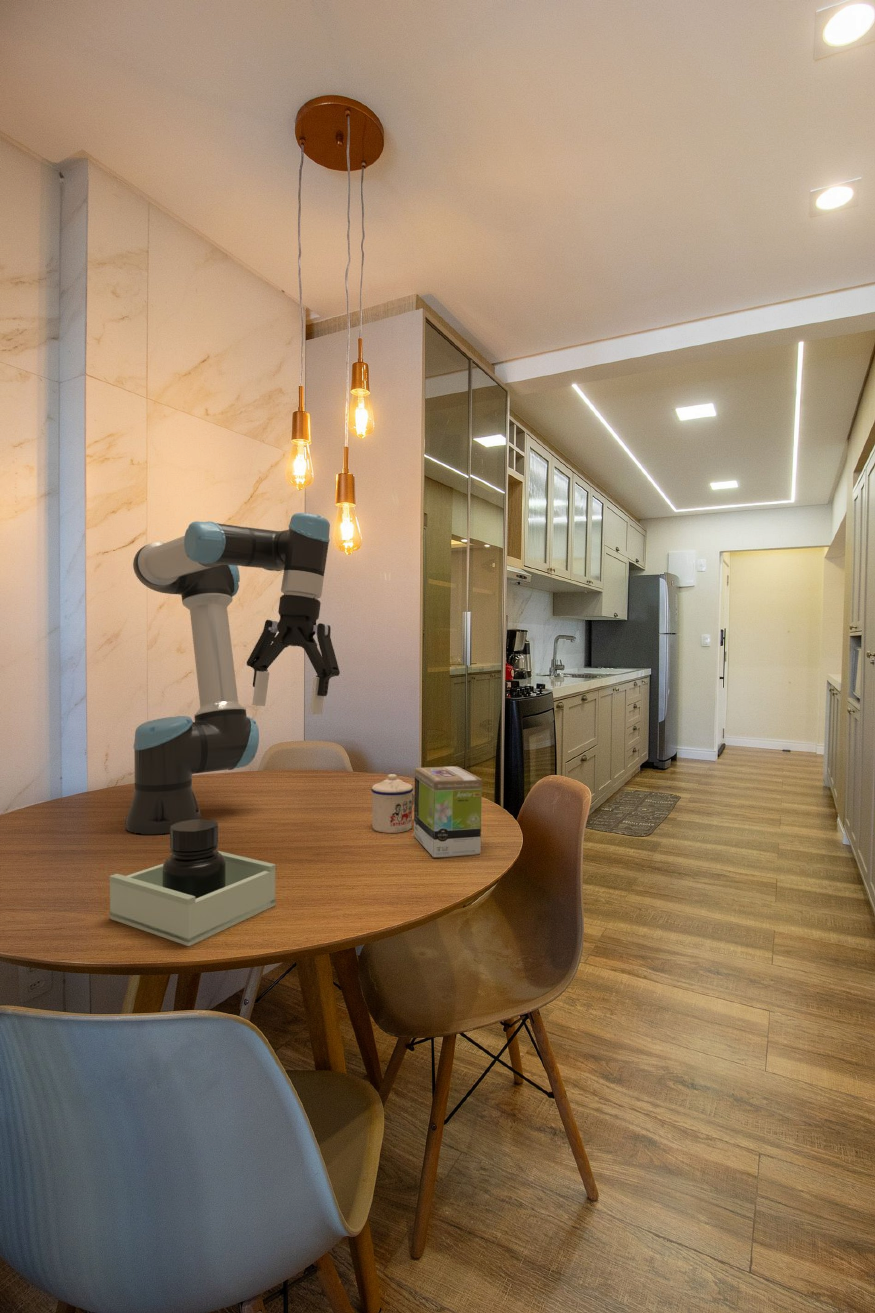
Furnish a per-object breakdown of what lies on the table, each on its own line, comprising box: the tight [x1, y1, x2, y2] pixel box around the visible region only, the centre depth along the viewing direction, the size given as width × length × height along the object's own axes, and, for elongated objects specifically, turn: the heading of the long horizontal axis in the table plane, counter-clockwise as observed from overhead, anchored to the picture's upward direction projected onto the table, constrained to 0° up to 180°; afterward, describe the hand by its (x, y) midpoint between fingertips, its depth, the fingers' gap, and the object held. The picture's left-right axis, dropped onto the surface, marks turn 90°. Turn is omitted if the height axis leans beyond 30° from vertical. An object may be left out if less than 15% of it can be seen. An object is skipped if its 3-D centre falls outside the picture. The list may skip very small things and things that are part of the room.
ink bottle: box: [162, 818, 226, 899], centre depth 99 cm, size 10×9×12 cm
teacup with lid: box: [371, 773, 415, 834], centre depth 145 cm, size 12×9×12 cm
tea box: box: [413, 765, 483, 858], centre depth 132 cm, size 15×10×15 cm
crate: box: [108, 850, 277, 947], centre depth 99 cm, size 17×16×6 cm
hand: (286, 709), depth 123 cm, fingers open, 13 cm apart
